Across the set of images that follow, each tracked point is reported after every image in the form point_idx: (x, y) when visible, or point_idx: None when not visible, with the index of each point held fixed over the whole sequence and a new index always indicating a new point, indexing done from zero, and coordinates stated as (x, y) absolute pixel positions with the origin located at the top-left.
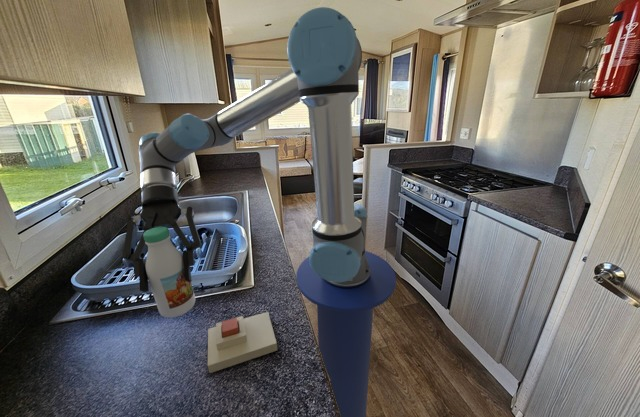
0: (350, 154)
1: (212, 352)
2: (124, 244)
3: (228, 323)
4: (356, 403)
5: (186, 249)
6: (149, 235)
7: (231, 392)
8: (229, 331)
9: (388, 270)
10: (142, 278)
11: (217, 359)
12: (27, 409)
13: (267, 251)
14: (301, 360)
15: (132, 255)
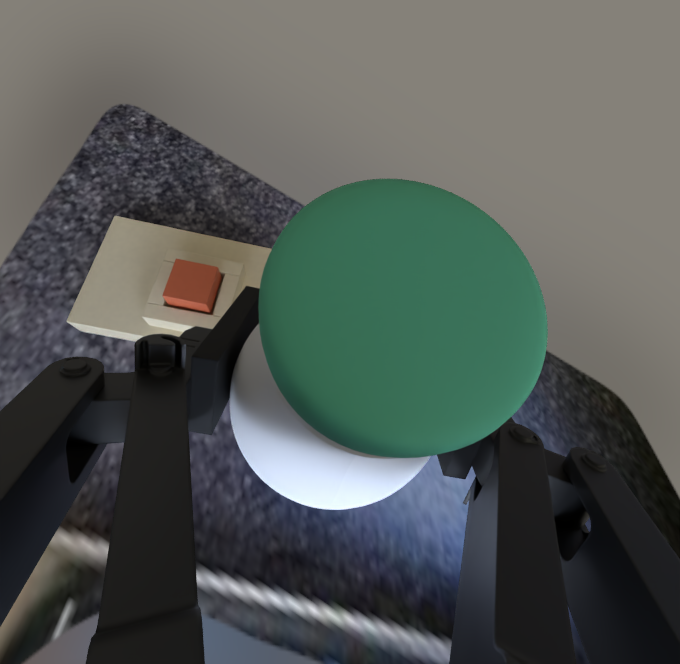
0: None
1: (258, 276)
2: (674, 556)
3: (191, 286)
4: None
5: (186, 384)
6: (468, 208)
7: (250, 205)
8: (200, 265)
9: None
10: None
11: (253, 252)
12: (588, 378)
13: None
14: (96, 183)
15: (549, 469)
